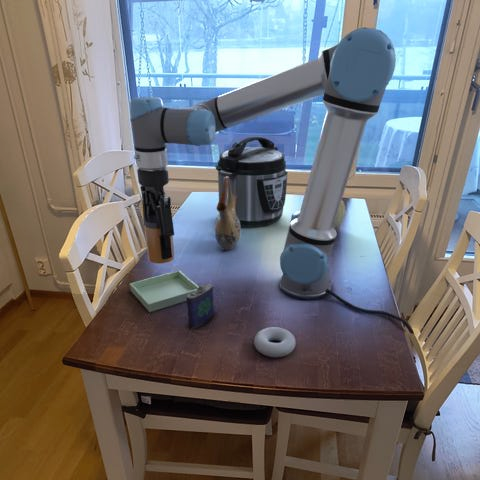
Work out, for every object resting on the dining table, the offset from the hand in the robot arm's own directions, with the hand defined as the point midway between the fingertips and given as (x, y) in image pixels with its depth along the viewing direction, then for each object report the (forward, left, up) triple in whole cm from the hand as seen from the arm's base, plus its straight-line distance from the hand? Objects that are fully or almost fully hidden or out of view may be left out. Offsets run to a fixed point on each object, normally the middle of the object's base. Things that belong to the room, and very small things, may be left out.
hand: (160, 252), depth 117 cm
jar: (0, 0, -2) cm, 2 cm away
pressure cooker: (+39, -58, -13) cm, 71 cm away
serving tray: (0, 0, -13) cm, 13 cm away
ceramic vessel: (+18, -33, -13) cm, 40 cm away
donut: (-39, -11, -13) cm, 42 cm away
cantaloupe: (+12, -74, -13) cm, 76 cm away
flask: (-19, -2, -13) cm, 23 cm away
